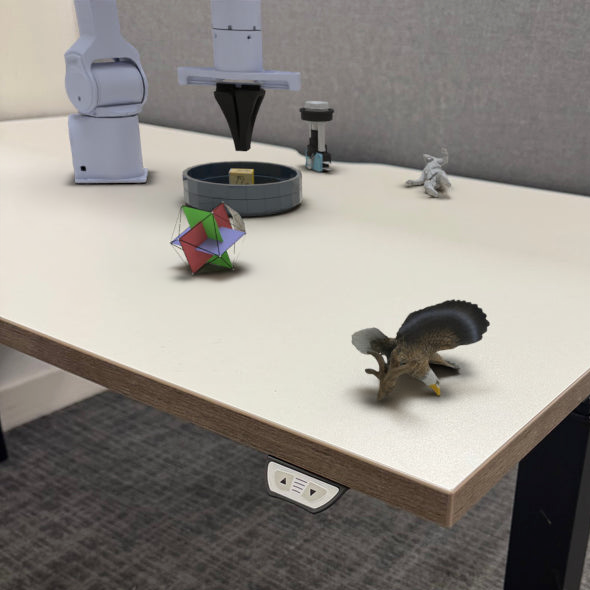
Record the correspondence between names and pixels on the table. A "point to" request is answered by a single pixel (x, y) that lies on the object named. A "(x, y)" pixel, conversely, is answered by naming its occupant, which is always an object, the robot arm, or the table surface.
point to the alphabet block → (241, 176)
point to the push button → (317, 134)
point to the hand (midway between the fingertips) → (243, 149)
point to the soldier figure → (433, 174)
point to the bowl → (243, 188)
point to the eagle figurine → (421, 342)
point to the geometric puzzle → (209, 236)
